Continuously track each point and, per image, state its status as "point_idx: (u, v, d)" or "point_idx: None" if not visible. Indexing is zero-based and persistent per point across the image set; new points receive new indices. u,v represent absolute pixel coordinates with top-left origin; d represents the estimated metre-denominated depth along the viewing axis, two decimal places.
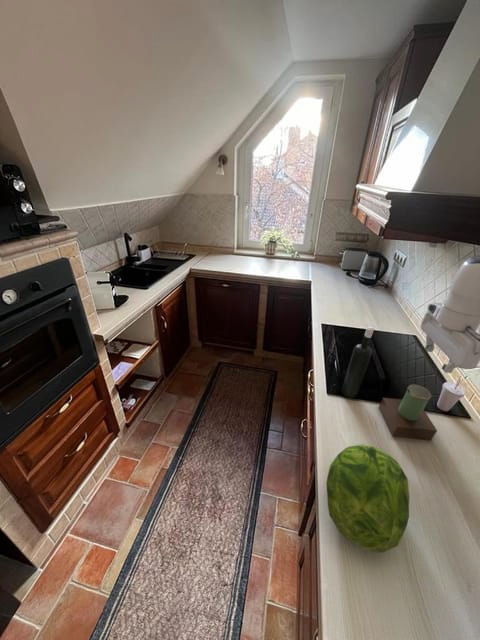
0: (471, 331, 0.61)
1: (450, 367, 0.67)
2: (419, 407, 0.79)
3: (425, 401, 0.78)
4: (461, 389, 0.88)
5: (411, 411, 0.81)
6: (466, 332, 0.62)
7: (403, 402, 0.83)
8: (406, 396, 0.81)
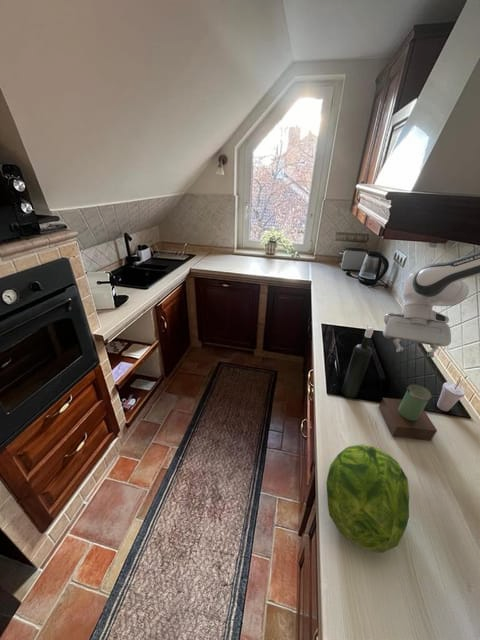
0: None
1: (396, 346, 0.88)
2: (419, 407, 0.79)
3: (425, 401, 0.78)
4: (461, 389, 0.88)
5: (411, 411, 0.81)
6: None
7: (403, 402, 0.83)
8: (406, 396, 0.81)
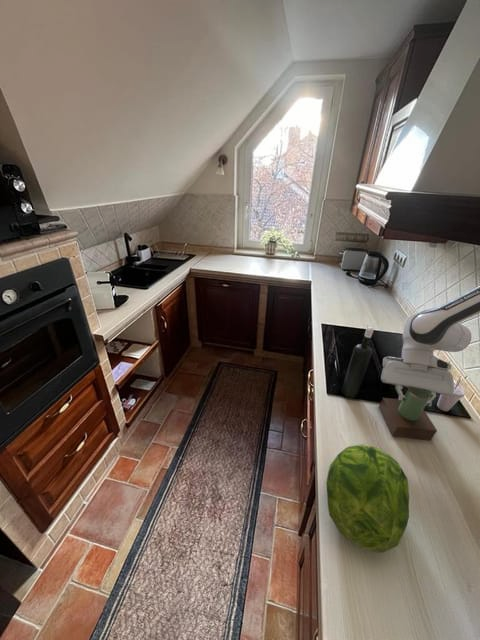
0: None
1: (398, 393, 0.83)
2: (419, 407, 0.79)
3: (424, 401, 0.78)
4: (461, 389, 0.88)
5: (411, 411, 0.81)
6: None
7: (403, 402, 0.83)
8: (406, 396, 0.81)
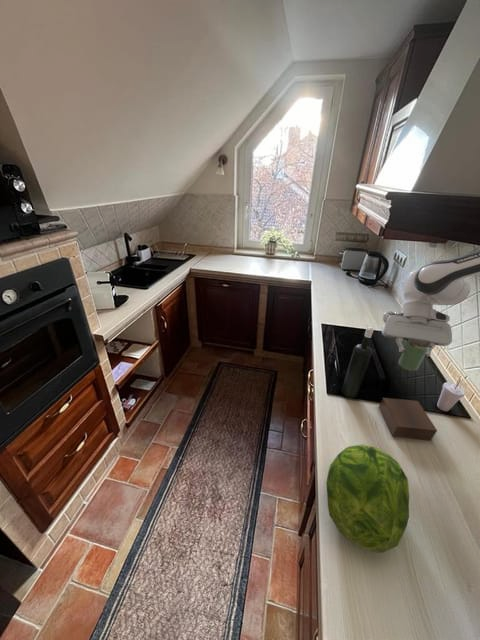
0: None
1: (399, 345, 0.86)
2: (418, 356, 0.82)
3: (424, 350, 0.81)
4: (461, 389, 0.88)
5: (410, 361, 0.84)
6: None
7: (403, 354, 0.86)
8: (406, 347, 0.85)
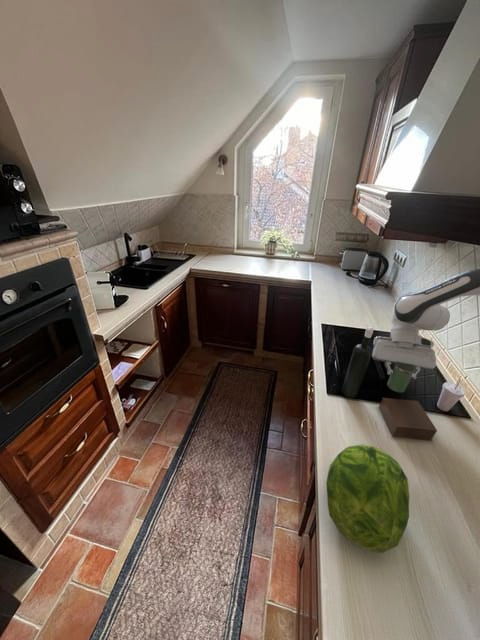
0: None
1: (387, 368, 0.93)
2: (405, 379, 0.89)
3: (409, 374, 0.88)
4: (461, 389, 0.88)
5: (398, 384, 0.91)
6: None
7: (391, 376, 0.93)
8: (394, 370, 0.91)
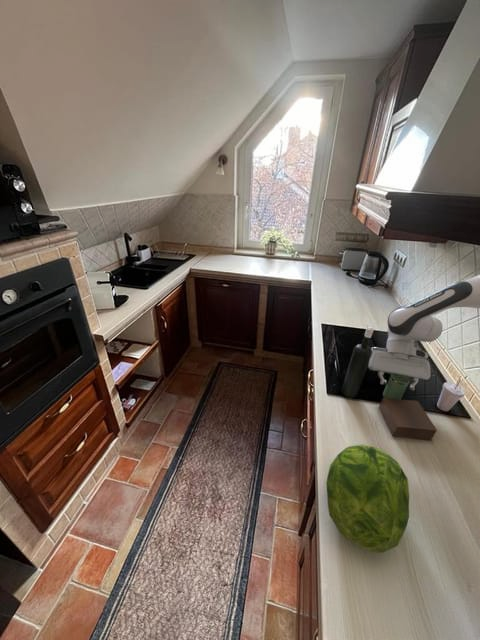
0: None
1: (380, 378, 0.96)
2: (399, 390, 0.92)
3: (404, 385, 0.90)
4: (461, 389, 0.88)
5: (393, 394, 0.93)
6: None
7: (386, 387, 0.95)
8: (389, 381, 0.94)
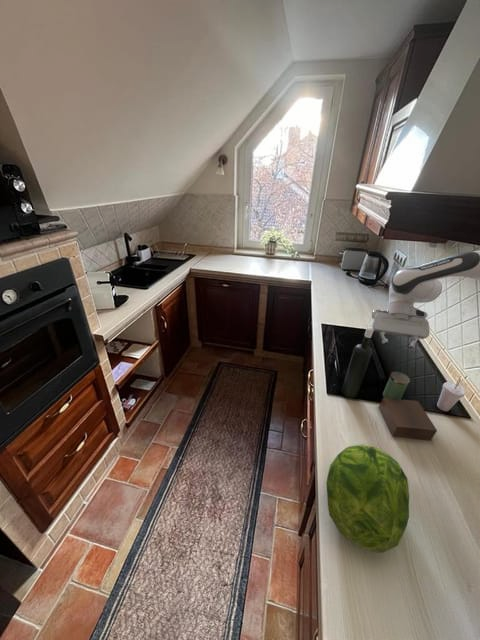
0: None
1: (382, 338, 1.01)
2: (399, 390, 0.92)
3: (404, 385, 0.90)
4: (461, 389, 0.88)
5: (393, 394, 0.93)
6: None
7: (386, 387, 0.95)
8: (389, 381, 0.94)
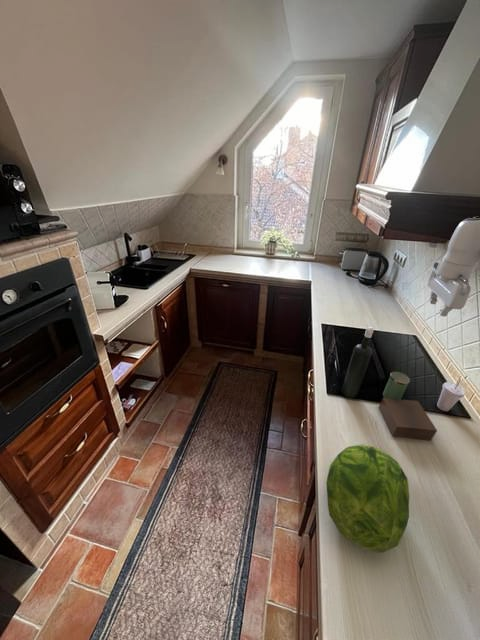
0: (461, 278, 0.75)
1: (445, 311, 0.82)
2: (399, 390, 0.92)
3: (404, 385, 0.90)
4: (461, 389, 0.88)
5: (393, 394, 0.93)
6: (458, 279, 0.77)
7: (386, 387, 0.95)
8: (389, 381, 0.94)
